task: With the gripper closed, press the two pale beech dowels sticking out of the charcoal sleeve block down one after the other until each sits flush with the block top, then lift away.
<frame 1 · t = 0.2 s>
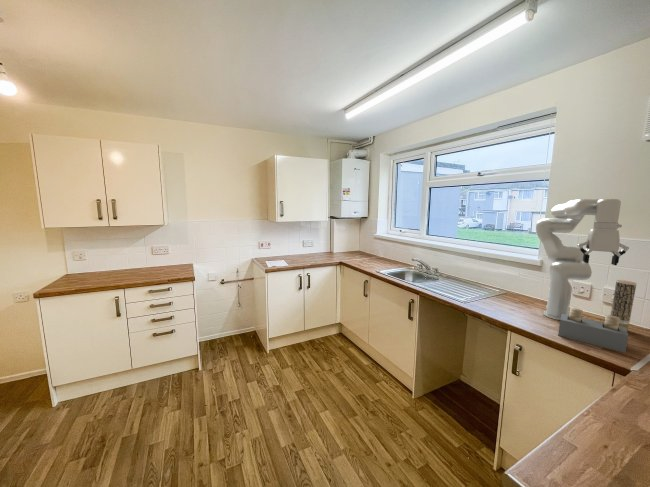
hand: (599, 263, 125), 36 cm above the table, tool pointing down, fingers open, 9 cm apart
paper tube: (617, 329, 140), on the table
peg inner: (575, 316, 130), point 9 cm above the table, slide at 5.0 cm
peg outer: (611, 324, 122), point 9 cm above the table, slide at 5.0 cm
sleeve block: (589, 339, 128), on the table
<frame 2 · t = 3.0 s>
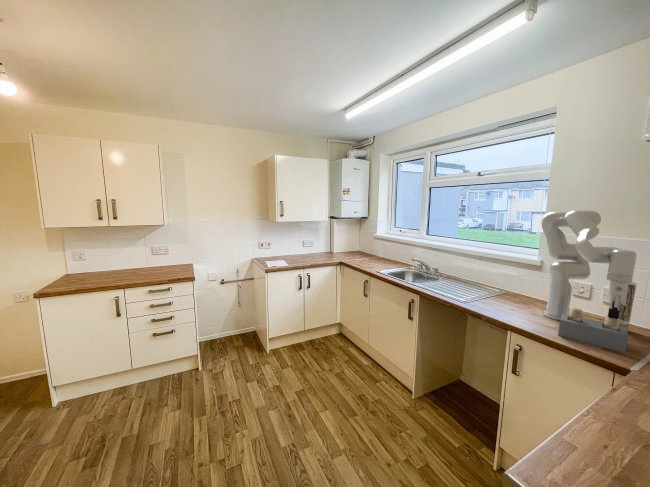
hand: (612, 317, 121), 13 cm above the table, tool pointing down, fingers closed
peg outer: (611, 325, 122), point 9 cm above the table, slide at 4.6 cm, touching gripper
everything else where it was.
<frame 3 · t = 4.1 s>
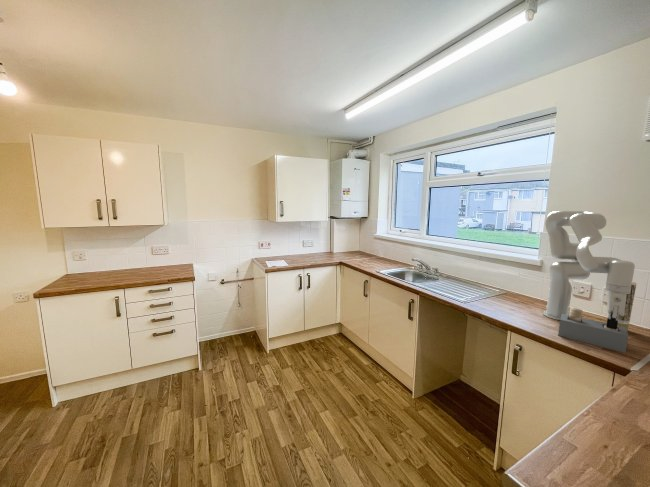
hand: (611, 327, 122), 8 cm above the table, tool pointing down, fingers closed
peg outer: (609, 335, 123), point 4 cm above the table, slide at -0.1 cm, touching gripper
everything else where it was.
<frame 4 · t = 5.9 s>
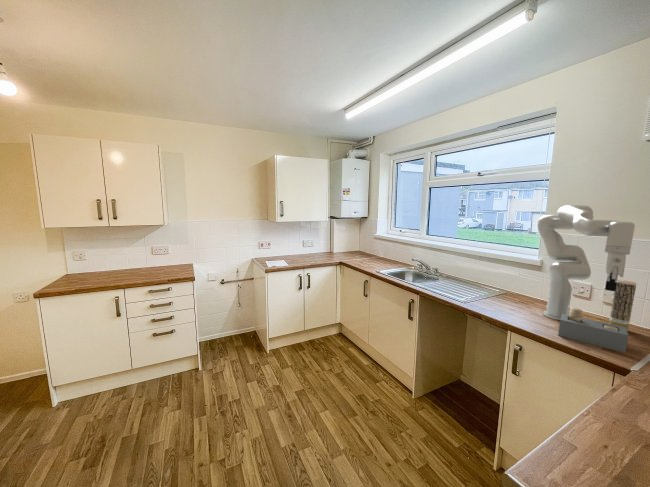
hand: (610, 290, 122), 25 cm above the table, tool pointing down, fingers closed
peg outer: (609, 335, 123), point 4 cm above the table, slide at -0.1 cm
everything else where it was.
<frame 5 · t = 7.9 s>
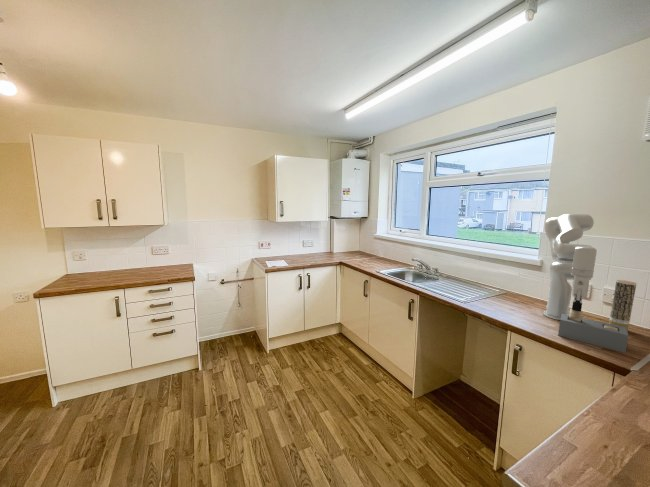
hand: (576, 310, 130), 13 cm above the table, tool pointing down, fingers closed
peg inner: (575, 317, 130), point 9 cm above the table, slide at 4.6 cm, touching gripper
everything else where it was.
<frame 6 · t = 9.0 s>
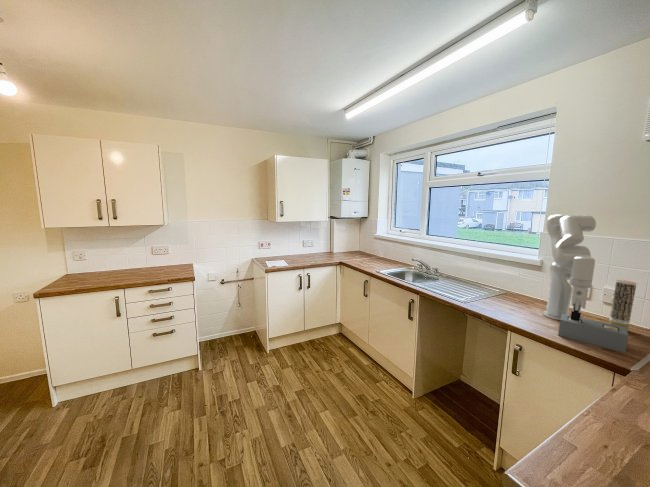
hand: (575, 319, 130), 8 cm above the table, tool pointing down, fingers closed
peg inner: (573, 326, 131), point 4 cm above the table, slide at -0.1 cm, touching gripper
everything else where it was.
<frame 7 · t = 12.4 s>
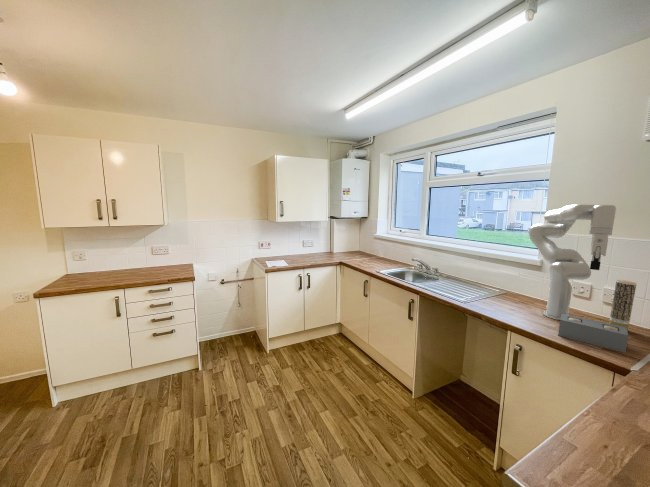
hand: (594, 269, 130), 32 cm above the table, tool pointing down, fingers closed
peg inner: (573, 326, 131), point 4 cm above the table, slide at -0.1 cm
everything else where it was.
at the end: peg outer slide at -0.1 cm; peg inner slide at -0.1 cm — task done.
